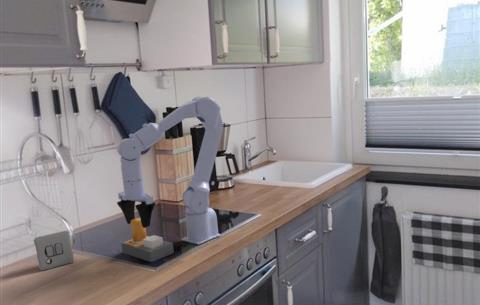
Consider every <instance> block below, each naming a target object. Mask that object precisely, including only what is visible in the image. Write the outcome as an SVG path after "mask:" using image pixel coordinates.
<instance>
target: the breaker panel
mask: <svg viewBox="0 0 480 305" xmlns="http://www.w3.org/2000/svg"><path fill="white" fill-rule="evenodd" d="M146 237H147V238H148V237H150V236H149V235H146ZM130 240H133V238H132V239H129V240H126V241H124V242H121V249H122V254H126V255H128V256H131V257H134V258H136V259H140V260H144V261H146V262H149V263H154V262H155V261H158V260H161V259H163V258H165V257H167V256H169V255H172V254H174V253H175V251H174V243H173V242H172V241H171V242H170V241H166V240H164V239H163V245H161V246H159V247H156V248H154V249H150V248H146V247H144V245H143V243H141V244H138V245H136V244H133V243H131V241H130Z"/></svg>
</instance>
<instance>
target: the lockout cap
mask: <svg viewBox="0 0 480 305" xmlns="http://www.w3.org/2000/svg"><path fill="white" fill-rule="evenodd" d="M130 228H131V235H132V236H131V237H132V239H133V241H134V242H140V241H143V239H145V238H147V237H146V236H147V230H146V228H147V227H145V228H143V227H142V224H141V219H140V217H135V219H132V220H131V223H130Z"/></svg>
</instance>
